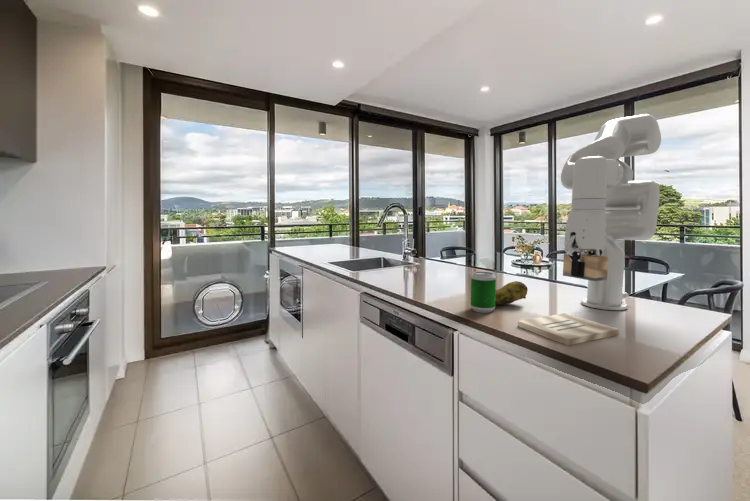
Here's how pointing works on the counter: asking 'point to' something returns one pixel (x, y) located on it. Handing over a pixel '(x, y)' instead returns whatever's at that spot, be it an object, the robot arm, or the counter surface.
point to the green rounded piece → (510, 293)
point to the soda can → (483, 291)
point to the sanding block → (589, 267)
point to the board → (568, 328)
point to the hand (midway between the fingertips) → (584, 275)
